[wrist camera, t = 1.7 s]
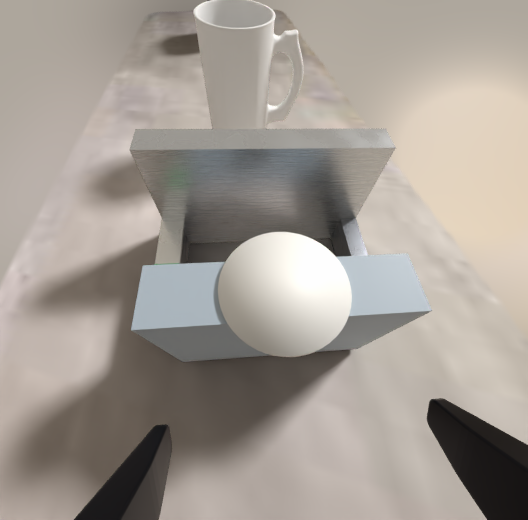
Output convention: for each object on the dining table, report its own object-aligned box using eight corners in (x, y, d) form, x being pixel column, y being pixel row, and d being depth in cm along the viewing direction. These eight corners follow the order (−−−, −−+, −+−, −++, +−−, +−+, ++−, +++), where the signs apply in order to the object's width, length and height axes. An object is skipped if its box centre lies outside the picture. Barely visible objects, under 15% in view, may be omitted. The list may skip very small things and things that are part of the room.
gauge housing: (370, 328, 20) (461, 272, 12) (159, 343, 19) (83, 292, 10) (339, 221, 26) (385, 128, 17) (174, 227, 24) (132, 129, 16)
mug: (212, 160, 29) (190, 27, 19) (212, 126, 33) (195, -4, 22) (296, 159, 30) (320, 30, 20) (288, 125, 33) (306, 0, 23)
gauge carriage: (362, 370, 18) (450, 344, 10) (152, 387, 17) (66, 373, 9) (343, 293, 21) (399, 227, 13) (163, 303, 20) (105, 238, 12)
